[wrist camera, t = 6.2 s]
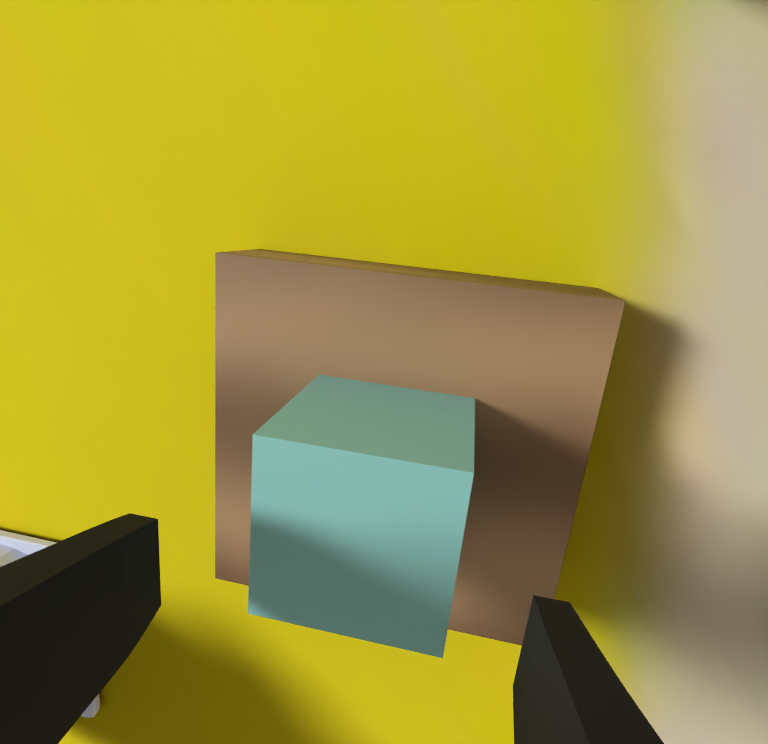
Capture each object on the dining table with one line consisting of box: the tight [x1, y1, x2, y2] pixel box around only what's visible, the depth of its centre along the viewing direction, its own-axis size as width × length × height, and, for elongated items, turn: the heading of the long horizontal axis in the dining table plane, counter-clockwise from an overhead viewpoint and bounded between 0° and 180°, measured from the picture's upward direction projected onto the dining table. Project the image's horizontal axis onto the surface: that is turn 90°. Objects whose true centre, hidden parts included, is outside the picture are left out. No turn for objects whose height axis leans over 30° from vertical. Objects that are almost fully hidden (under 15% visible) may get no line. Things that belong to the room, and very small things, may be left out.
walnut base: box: [215, 249, 625, 645], centre depth 16 cm, size 11×11×3 cm
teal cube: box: [248, 375, 475, 658], centre depth 13 cm, size 4×4×4 cm
